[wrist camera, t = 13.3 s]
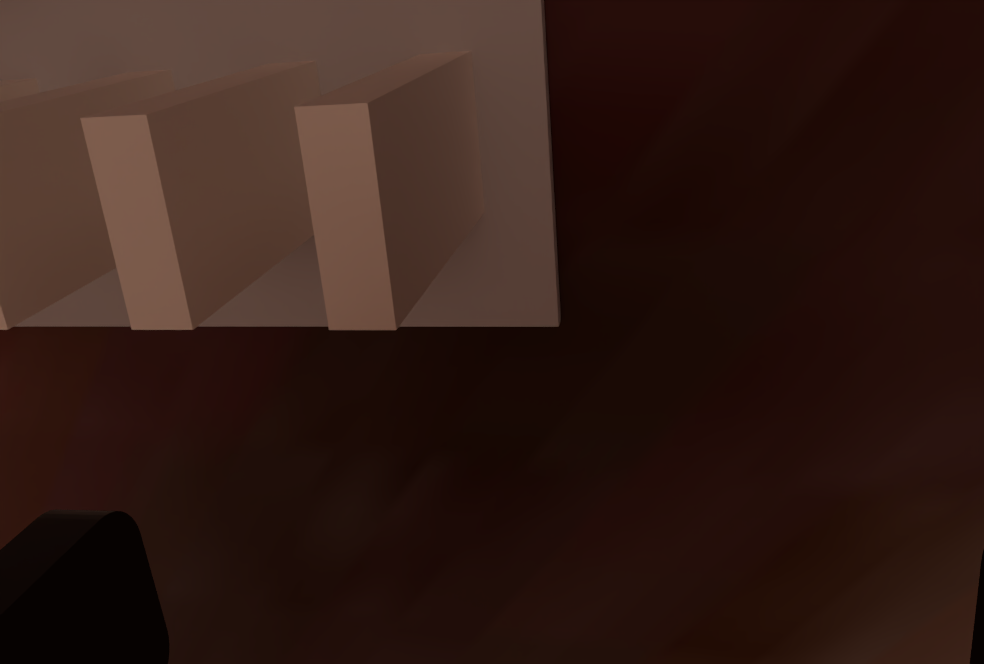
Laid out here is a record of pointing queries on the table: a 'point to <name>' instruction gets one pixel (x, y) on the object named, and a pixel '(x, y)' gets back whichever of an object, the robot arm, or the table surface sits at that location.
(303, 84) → the ivory domino
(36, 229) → the ivory domino
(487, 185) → the grey rubber mat
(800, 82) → the table surface
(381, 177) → the ivory domino
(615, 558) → the table surface
